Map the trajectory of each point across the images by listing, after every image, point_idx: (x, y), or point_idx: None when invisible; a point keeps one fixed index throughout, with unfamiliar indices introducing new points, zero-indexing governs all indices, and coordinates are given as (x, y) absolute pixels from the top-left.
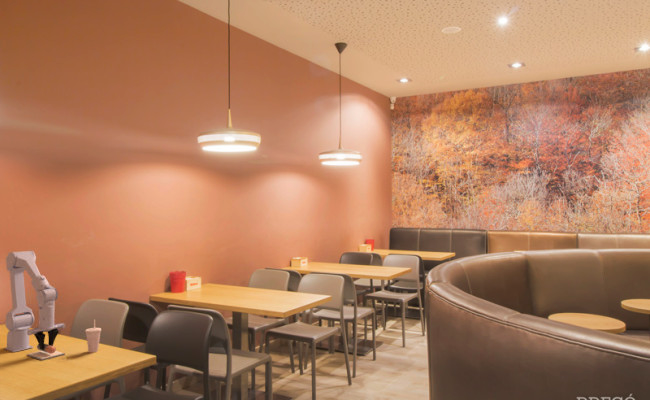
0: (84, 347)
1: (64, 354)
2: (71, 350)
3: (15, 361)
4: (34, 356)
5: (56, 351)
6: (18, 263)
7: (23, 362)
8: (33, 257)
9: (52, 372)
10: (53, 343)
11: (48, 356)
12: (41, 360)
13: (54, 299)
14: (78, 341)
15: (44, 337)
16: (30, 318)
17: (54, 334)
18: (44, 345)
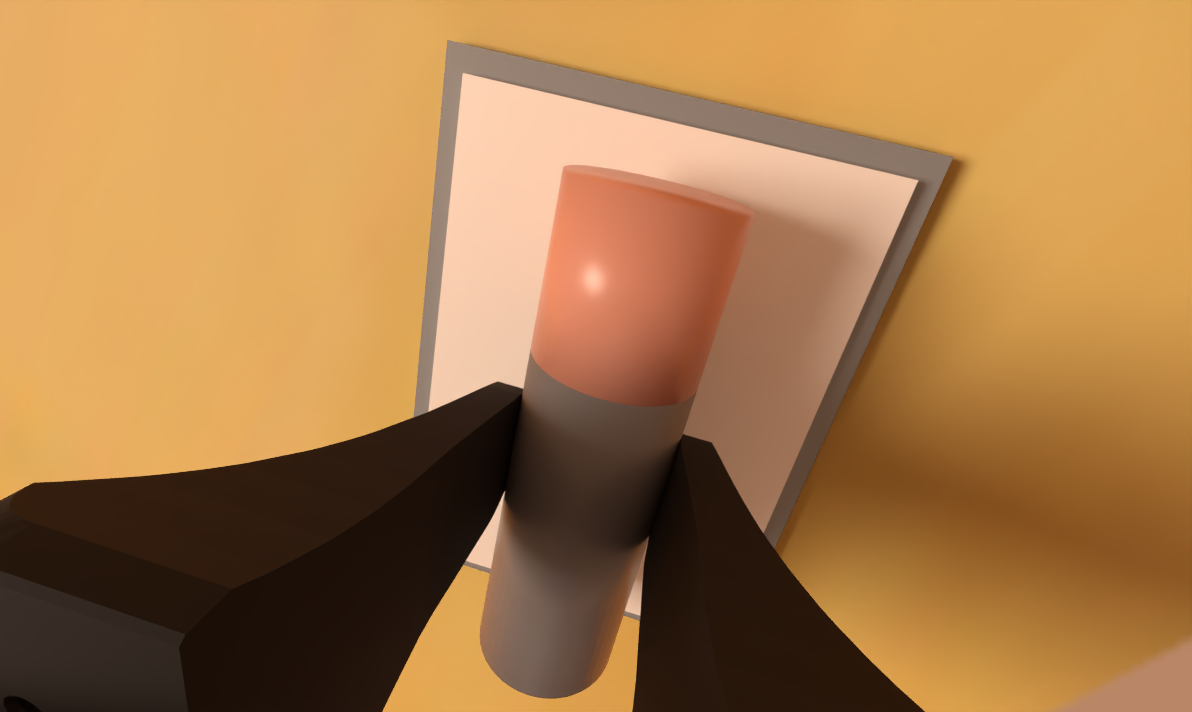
0: (40, 120)
1: (469, 48)
2: (251, 192)
3: (1049, 581)
4: (785, 475)
5: (456, 325)
6: None
7: (1101, 416)
8: None
9: None
10: (447, 404)
11: (754, 181)
12: (943, 162)
13: None
14: (14, 477)
15: (726, 644)
16: None
17: (270, 522)
18: (616, 513)
